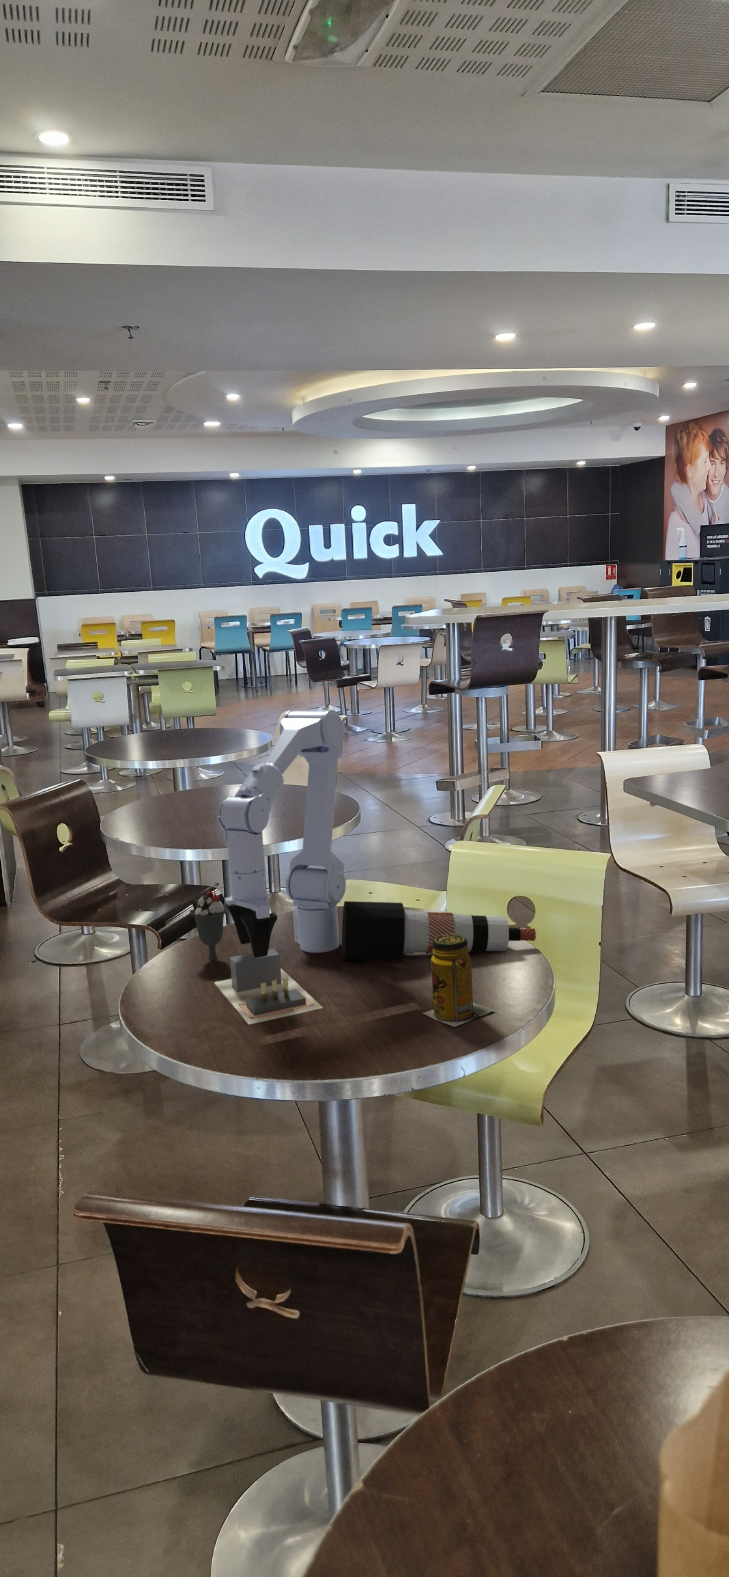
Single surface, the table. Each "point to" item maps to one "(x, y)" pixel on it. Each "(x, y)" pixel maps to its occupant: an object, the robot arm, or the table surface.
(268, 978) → the block
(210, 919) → the sundae
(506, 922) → the striped banded cylinder
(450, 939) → the condiment
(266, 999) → the board
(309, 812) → the robot arm
